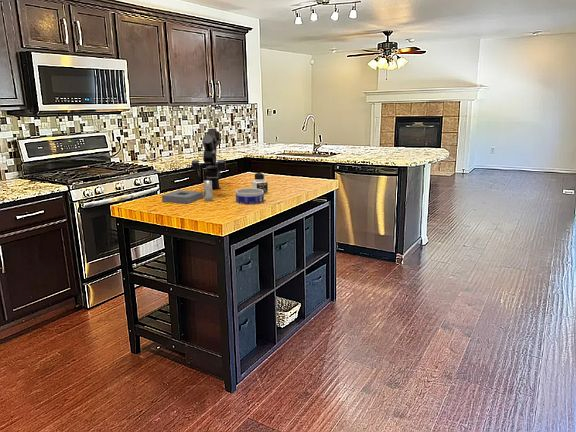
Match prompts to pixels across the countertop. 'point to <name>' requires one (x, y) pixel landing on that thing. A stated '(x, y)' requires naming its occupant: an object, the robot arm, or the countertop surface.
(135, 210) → the countertop surface
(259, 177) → the medicine bottle
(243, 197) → the dog bowl
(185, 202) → the socket block
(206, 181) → the peg
